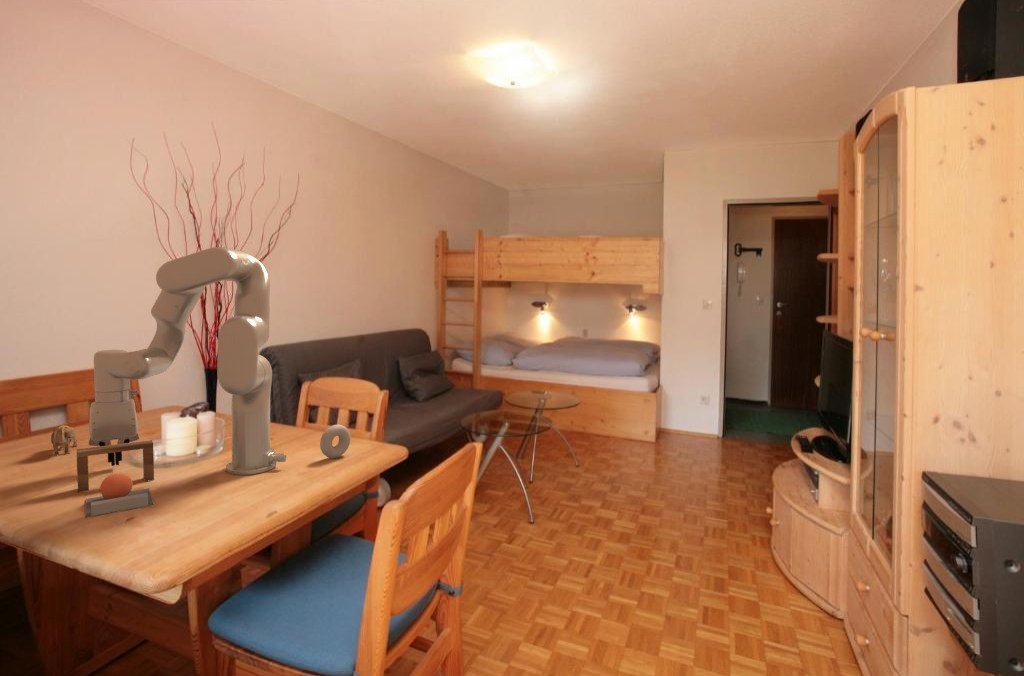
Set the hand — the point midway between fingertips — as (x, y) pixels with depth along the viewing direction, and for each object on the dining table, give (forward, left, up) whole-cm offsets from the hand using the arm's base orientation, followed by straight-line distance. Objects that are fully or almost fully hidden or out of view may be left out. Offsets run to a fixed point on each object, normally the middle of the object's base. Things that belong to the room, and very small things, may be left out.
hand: (115, 464), depth 141 cm
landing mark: (-13, +23, -2) cm, 27 cm away
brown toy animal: (+22, -17, -2) cm, 28 cm away
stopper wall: (-16, +28, -2) cm, 32 cm away
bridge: (-6, +11, -2) cm, 13 cm away
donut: (-55, -8, -2) cm, 56 cm away
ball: (-12, +21, +2) cm, 24 cm away
